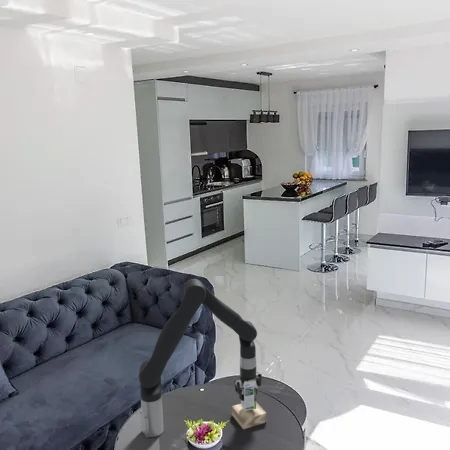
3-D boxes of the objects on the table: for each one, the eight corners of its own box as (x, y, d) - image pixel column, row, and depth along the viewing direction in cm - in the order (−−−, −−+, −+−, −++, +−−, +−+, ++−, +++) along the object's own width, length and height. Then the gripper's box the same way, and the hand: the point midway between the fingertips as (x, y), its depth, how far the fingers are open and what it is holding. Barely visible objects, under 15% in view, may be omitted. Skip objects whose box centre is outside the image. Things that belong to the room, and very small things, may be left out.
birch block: (243, 430, 208) (243, 420, 207) (232, 415, 219) (231, 406, 218) (266, 422, 212) (266, 413, 211) (254, 409, 223) (254, 399, 222)
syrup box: (244, 411, 211) (244, 382, 208) (240, 404, 216) (240, 376, 213) (256, 409, 212) (256, 380, 209) (252, 402, 218) (251, 374, 215)
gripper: (239, 372, 203) (240, 406, 206) (265, 363, 211) (265, 396, 214) (230, 365, 209) (231, 398, 213) (255, 357, 217) (256, 389, 220)
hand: (248, 397), depth 213 cm, fingers closed on syrup box, 6 cm apart
